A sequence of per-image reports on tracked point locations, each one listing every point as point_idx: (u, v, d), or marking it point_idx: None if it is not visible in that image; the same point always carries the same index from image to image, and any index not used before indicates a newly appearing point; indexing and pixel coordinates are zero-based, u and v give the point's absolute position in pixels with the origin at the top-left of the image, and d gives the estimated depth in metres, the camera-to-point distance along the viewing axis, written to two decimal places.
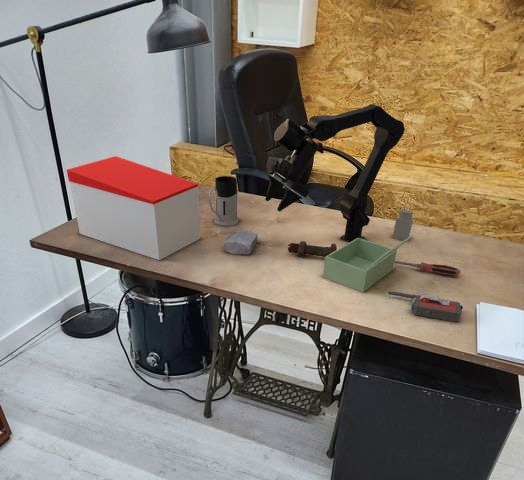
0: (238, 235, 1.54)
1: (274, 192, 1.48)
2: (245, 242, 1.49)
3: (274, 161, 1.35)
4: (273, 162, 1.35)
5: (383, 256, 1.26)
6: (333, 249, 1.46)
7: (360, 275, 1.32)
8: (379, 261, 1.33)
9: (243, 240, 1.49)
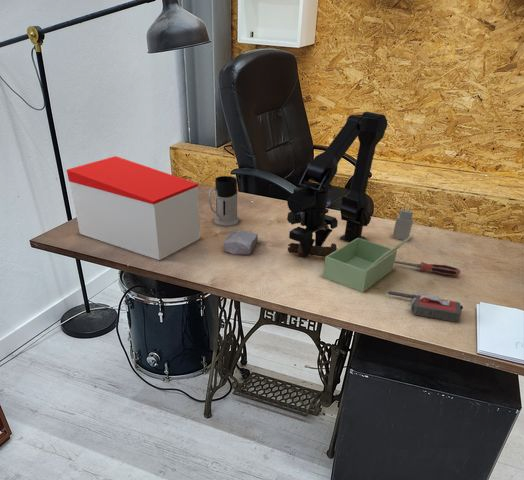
0: (238, 235, 1.54)
1: (320, 241, 1.50)
2: (245, 242, 1.49)
3: None
4: None
5: (383, 256, 1.26)
6: (333, 249, 1.46)
7: (360, 275, 1.32)
8: (379, 261, 1.33)
9: (243, 240, 1.49)
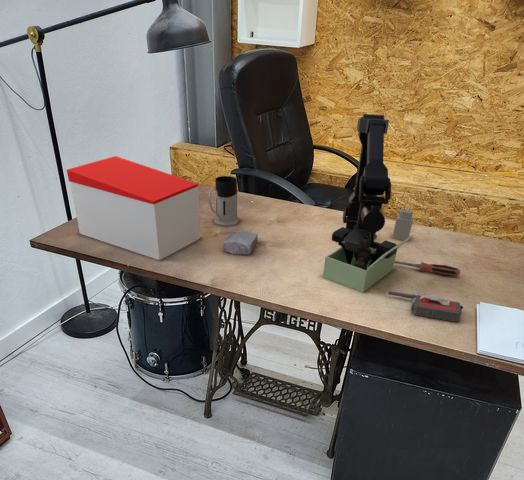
0: (238, 235, 1.54)
1: (352, 253, 1.43)
2: (245, 242, 1.49)
3: (357, 245, 1.30)
4: (356, 246, 1.30)
5: (383, 256, 1.26)
6: (370, 249, 1.45)
7: (360, 275, 1.32)
8: (379, 261, 1.33)
9: (243, 240, 1.49)
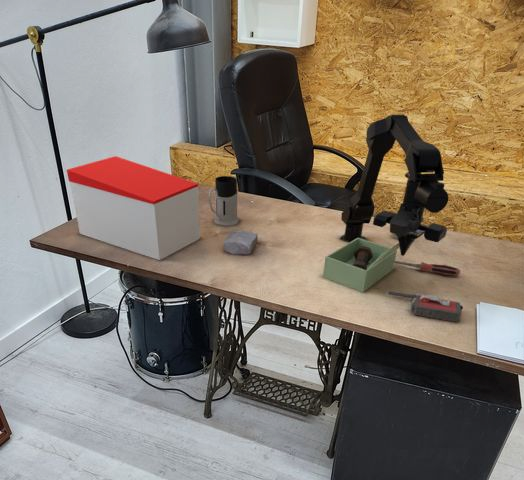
0: (238, 235, 1.54)
1: None
2: (245, 242, 1.49)
3: (405, 227, 1.19)
4: (404, 228, 1.19)
5: (382, 255, 1.26)
6: (370, 249, 1.45)
7: (360, 275, 1.32)
8: (379, 261, 1.33)
9: (243, 240, 1.49)
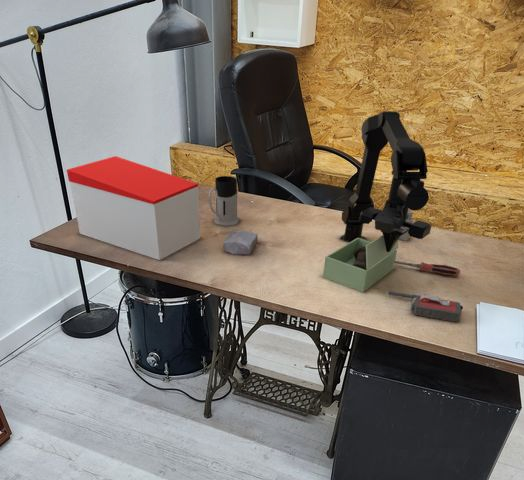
0: (238, 235, 1.54)
1: (391, 239, 1.33)
2: (245, 242, 1.49)
3: (389, 224, 1.21)
4: (388, 225, 1.21)
5: (368, 247, 1.27)
6: None
7: (360, 275, 1.32)
8: (378, 260, 1.33)
9: (243, 240, 1.49)
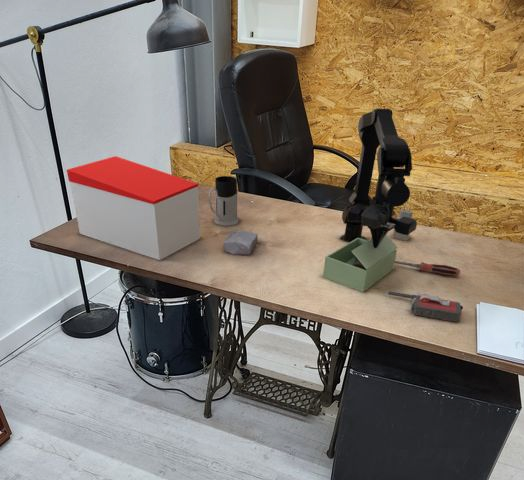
0: (238, 235, 1.54)
1: None
2: (245, 242, 1.49)
3: (375, 220, 1.23)
4: (374, 221, 1.23)
5: (354, 251, 1.30)
6: None
7: (360, 275, 1.32)
8: (376, 260, 1.33)
9: (243, 240, 1.49)
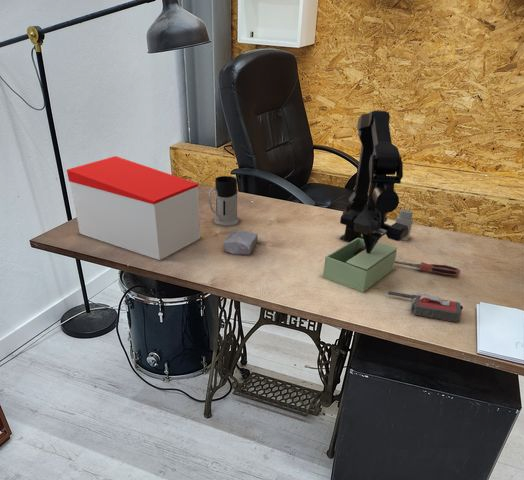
0: (238, 235, 1.54)
1: None
2: (245, 242, 1.49)
3: (367, 226, 1.25)
4: (366, 227, 1.26)
5: (349, 261, 1.33)
6: None
7: (360, 275, 1.32)
8: (375, 260, 1.34)
9: (243, 240, 1.49)
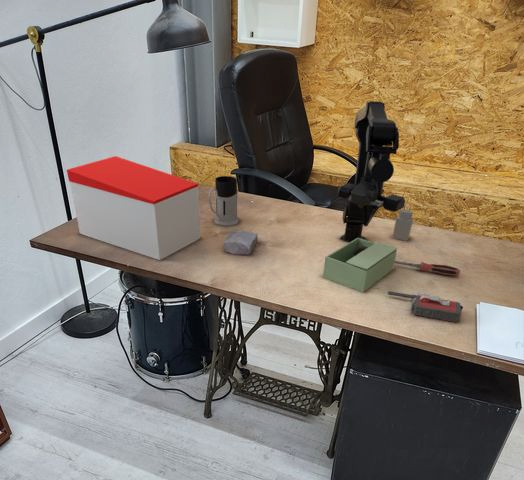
0: (238, 235, 1.54)
1: None
2: (245, 242, 1.49)
3: (364, 197, 1.27)
4: (363, 198, 1.27)
5: (349, 261, 1.33)
6: None
7: (360, 275, 1.32)
8: (375, 260, 1.34)
9: (243, 240, 1.49)
